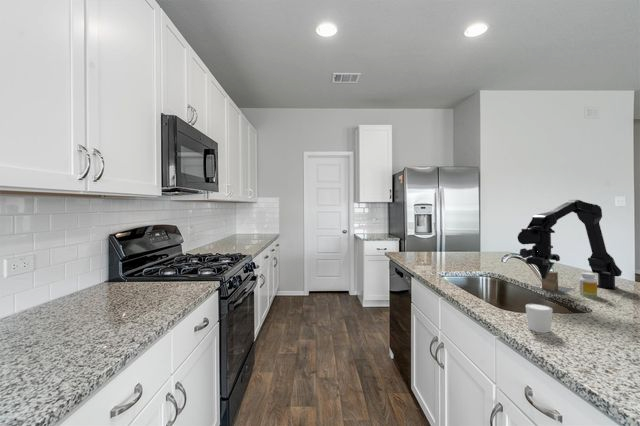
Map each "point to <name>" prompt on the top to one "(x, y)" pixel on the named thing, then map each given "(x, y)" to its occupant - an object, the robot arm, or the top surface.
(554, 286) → the walnut block
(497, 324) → the top surface
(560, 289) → the gray flat panel
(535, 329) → the white cup
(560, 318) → the top surface
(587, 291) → the supplement bottle
